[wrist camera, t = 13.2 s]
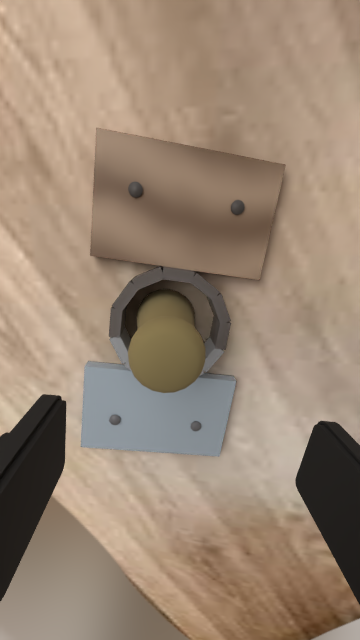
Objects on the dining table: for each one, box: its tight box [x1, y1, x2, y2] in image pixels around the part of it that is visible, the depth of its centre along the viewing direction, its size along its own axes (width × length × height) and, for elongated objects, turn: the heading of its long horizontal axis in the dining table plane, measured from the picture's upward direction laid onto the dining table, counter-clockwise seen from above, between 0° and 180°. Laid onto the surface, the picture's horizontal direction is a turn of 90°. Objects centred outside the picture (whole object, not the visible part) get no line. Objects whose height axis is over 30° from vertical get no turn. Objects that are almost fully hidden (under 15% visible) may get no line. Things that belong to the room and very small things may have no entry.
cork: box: [128, 289, 205, 393], centre depth 20 cm, size 6×6×11 cm
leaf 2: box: [81, 328, 236, 456], centre depth 26 cm, size 14×16×3 cm
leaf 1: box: [90, 128, 286, 350], centre depth 22 cm, size 17×16×3 cm
